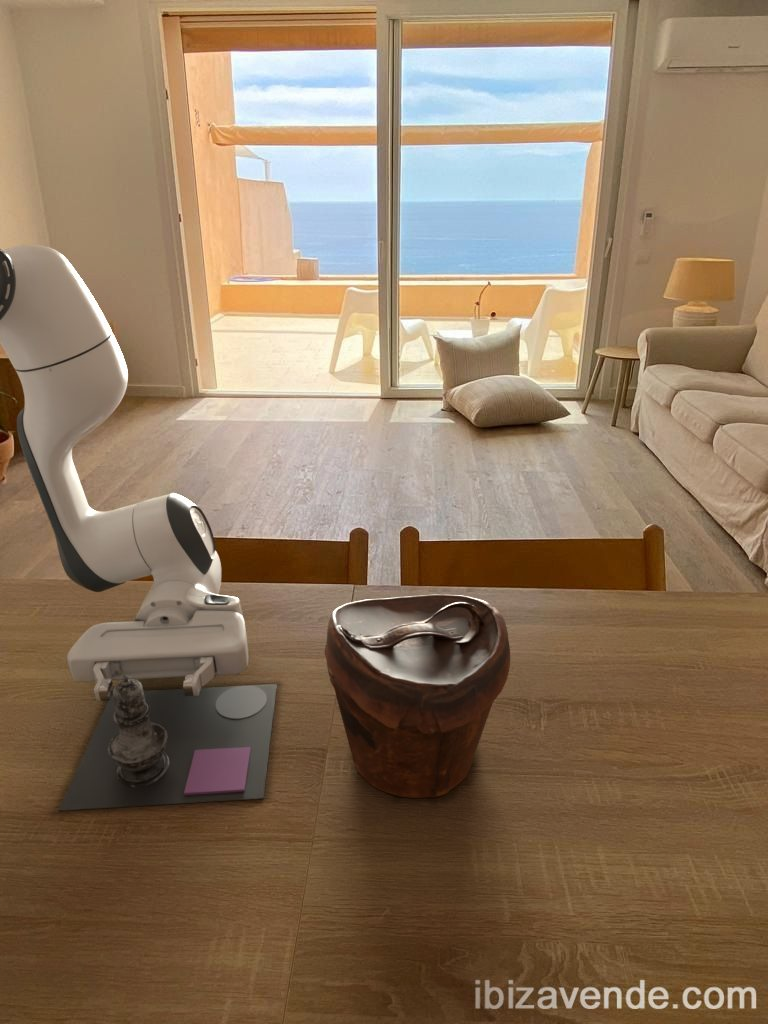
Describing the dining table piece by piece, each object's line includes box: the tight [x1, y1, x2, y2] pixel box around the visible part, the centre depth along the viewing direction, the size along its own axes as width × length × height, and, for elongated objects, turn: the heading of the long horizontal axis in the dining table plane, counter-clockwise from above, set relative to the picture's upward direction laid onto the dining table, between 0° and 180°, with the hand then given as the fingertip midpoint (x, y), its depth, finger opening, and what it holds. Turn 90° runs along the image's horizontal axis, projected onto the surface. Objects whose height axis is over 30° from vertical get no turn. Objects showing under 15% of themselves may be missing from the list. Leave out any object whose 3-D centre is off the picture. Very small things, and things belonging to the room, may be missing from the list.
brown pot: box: [324, 593, 511, 799], centre depth 71 cm, size 18×20×18 cm
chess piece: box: [108, 675, 169, 787], centre depth 71 cm, size 6×6×12 cm
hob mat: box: [58, 683, 278, 812], centre depth 77 cm, size 20×18×1 cm
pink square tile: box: [184, 747, 251, 795], centre depth 73 cm, size 6×6×1 cm
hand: (146, 693), depth 75 cm, fingers open, 8 cm apart
